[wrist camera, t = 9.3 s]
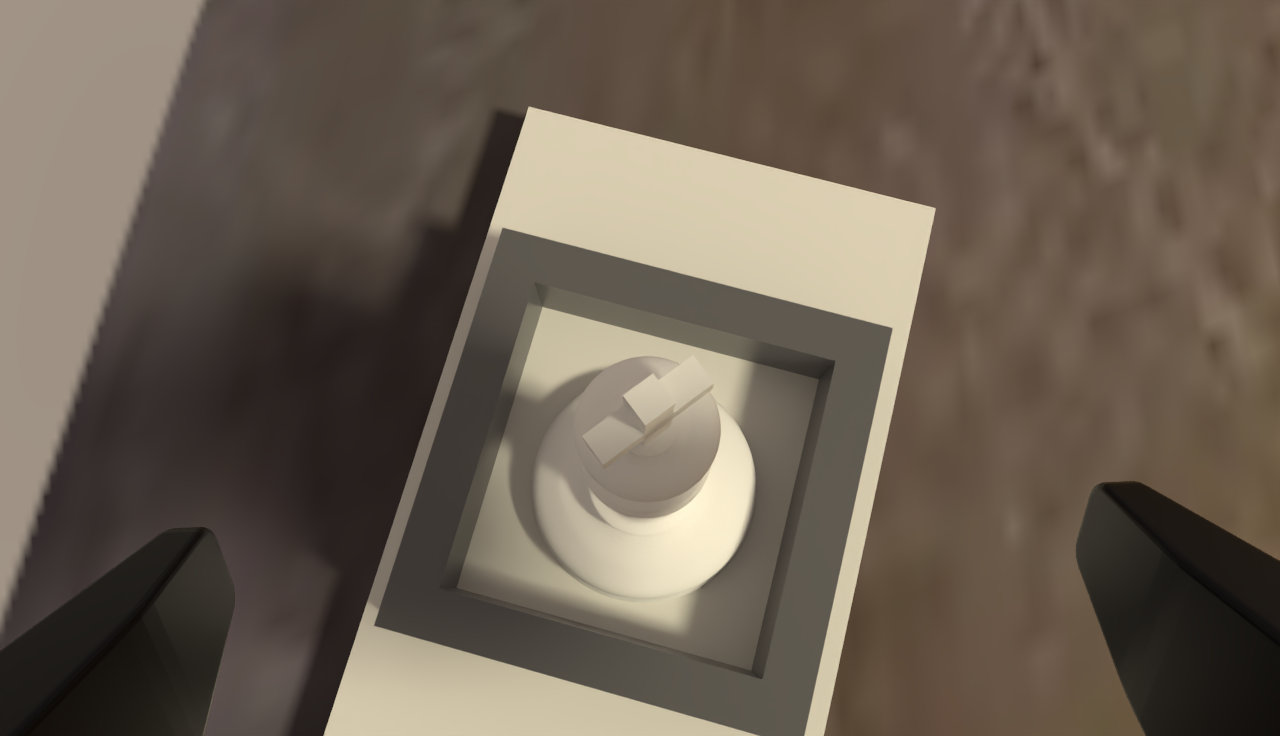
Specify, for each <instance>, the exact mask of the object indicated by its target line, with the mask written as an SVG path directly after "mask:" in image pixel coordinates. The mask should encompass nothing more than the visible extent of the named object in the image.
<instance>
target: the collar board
mask: <svg viewBox="0 0 1280 736" xmlns="http://www.w3.org/2000/svg"><path fill="white" fill-rule="evenodd" d="M935 209H936V208H932V207H928V206H924V205H920V204H916V203H912V202H908V201H904V200H900V199H896V198H892V197H888V196H884V195H880V194H876V193H872V192H868V191H864V190H860V189H856V188H852V187H848V186H844V185H840V184H836V183H832V182H828V181H824V180H820V179H816V178H812V177H808V176H804V175H800V174H796V173H792V172H788V171H784V170H780V169H776V168H772V167H768V166H764V165H760V164H756V163H752V162H748V161H744V160H740V159H736V158H732V157H728V156H724V155H720V154H716V153H712V152H708V151H704V150H700V149H696V148H692V147H688V146H684V145H680V144H676V143H672V142H668V141H664V140H660V139H656V138H652V137H648V136H644V135H640V134H636V133H632V132H628V131H624V130H620V129H616V128H612V127H608V126H604V125H600V124H596V123H592V122H588V121H584V120H580V119H576V118H572V117H568V116H564V115H560V114H556V113H552V112H548V111H544V110H540V109H536V108H532V107H529V108H528V111H527V114H526V117H525V120H524V124H523V127H522V130H521V133H520V136H519V139H518V142H517V145H516V148H515V151H514V154H513V157H512V160H511V163H510V166H509V169H508V172H507V176H506V179H505V182H504V185H503V188H502V191H501V194H500V197H499V200H498V203H497V206H496V209H495V212H494V215H493V218H492V221H491V225H490V228H489V231H488V234H487V237H486V240H485V243H484V246H483V249H482V252H481V255H480V258H479V261H478V264H477V267H476V270H475V274H474V277H473V280H472V283H471V286H470V289H469V292H468V295H467V298H466V301H465V304H464V307H463V310H462V313H461V316H460V319H459V322H458V326H457V329H456V332H455V335H454V338H453V341H452V344H451V347H450V350H449V353H448V356H447V359H446V362H445V365H444V368H443V371H442V375H441V378H440V381H439V384H438V387H437V390H436V393H435V396H434V399H433V402H432V405H431V408H430V411H429V414H428V417H427V420H426V424H425V427H424V430H423V433H422V436H421V439H420V442H419V445H418V448H417V451H416V454H415V457H414V460H413V463H412V466H411V469H410V473H409V476H408V479H407V482H406V485H405V488H404V491H403V494H402V497H401V500H400V503H399V506H398V509H397V512H396V515H395V518H394V521H393V525H392V528H391V531H390V534H389V537H388V540H387V543H386V546H385V549H384V552H383V555H382V558H381V561H380V564H379V567H378V570H377V574H376V577H375V580H374V583H373V586H372V589H371V592H370V595H369V598H368V601H367V604H366V607H365V610H364V613H363V616H362V619H361V623H360V626H359V629H358V632H357V635H356V638H355V641H354V644H353V647H352V650H351V653H350V656H349V659H348V662H347V665H346V668H345V672H344V675H343V678H342V681H341V684H340V687H339V690H338V693H337V696H336V699H335V702H334V705H333V708H332V711H331V714H330V717H329V720H328V724H327V727H326V730H325V733H324V736H824V731H825V727H826V722H827V717H828V713H829V708H830V703H831V698H832V694H833V689H834V684H835V680H836V675H837V670H838V666H839V661H840V656H841V651H842V647H843V642H844V637H845V633H846V628H847V623H848V619H849V614H850V609H851V604H852V600H853V595H854V590H855V586H856V581H857V576H858V571H859V567H860V562H861V557H862V553H863V548H864V543H865V539H866V534H867V529H868V524H869V520H870V515H871V510H872V506H873V501H874V496H875V491H876V487H877V482H878V477H879V473H880V468H881V463H882V459H883V454H884V449H885V444H886V440H887V435H888V430H889V426H890V421H891V416H892V412H893V407H894V402H895V397H896V393H897V388H898V383H899V379H900V374H901V369H902V364H903V360H904V355H905V350H906V346H907V341H908V336H909V332H910V327H911V322H912V317H913V313H914V308H915V303H916V299H917V294H918V289H919V284H920V280H921V275H922V270H923V266H924V261H925V256H926V252H927V247H928V242H929V237H930V233H931V228H932V223H933V219H934V214H935ZM692 355H693V356H694V357H695V358H696V359H697V361H698V362H699V363H700V365H701V366H702V367H703V368H704V370H705V371H706V372H707V374H708V375H709V376H710V377H711V379H712V380H713V381H714V386H713V388H712V390H711V391H710V392H711V394H712V395H713V397H714V399H715V400H716V401H717V402H718V403H719V404H720V405H721V406H722V407H723V408H724V409H725V410H726V411H727V412H728V413H729V414H730V415H731V416H732V418H733V419H734V420H735V422H736V423H737V425H738V426H739V428H740V429H741V431H742V433H743V435H744V437H745V439H746V441H747V443H748V446H749V448H750V451H751V454H752V458H753V462H754V467H755V473H756V482H757V498H756V507H755V512H754V517H753V520H752V524H751V527H750V529H749V532H748V534H747V537H746V539H745V541H744V543H743V545H742V546H741V548H740V550H739V551H738V553H737V554H736V556H735V557H734V558H733V560H732V561H731V562H730V563H729V564H728V566H727V567H726V568H725V569H724V570H723V571H722V572H721V573H719V574H718V575H717V576H716V577H715V578H714V579H712V580H711V581H710V582H708V583H707V584H705V585H704V586H702V587H700V588H699V589H697V590H695V591H693V592H691V593H688V594H686V595H683V596H680V597H677V598H674V599H670V600H665V601H659V602H629V601H623V600H618V599H615V598H611V597H608V596H605V595H603V594H600V593H598V592H596V591H594V590H592V589H590V588H588V587H587V586H585V585H583V584H582V583H580V582H579V581H578V580H576V579H575V578H574V577H572V576H571V575H570V574H569V573H568V572H567V571H566V570H565V569H564V568H563V567H562V566H561V565H560V564H559V563H558V562H557V560H556V559H555V558H554V557H553V555H552V554H551V552H550V551H549V549H548V548H547V546H546V544H545V542H544V540H543V538H542V536H541V534H540V531H539V529H538V526H537V523H536V519H535V515H534V511H533V505H532V493H531V485H532V474H533V468H534V463H535V459H536V456H537V453H538V450H539V447H540V444H541V442H542V440H543V438H544V436H545V434H546V432H547V430H548V428H549V427H550V425H551V424H552V422H553V421H554V420H555V418H556V417H557V416H558V414H559V413H560V412H561V411H562V410H563V409H564V408H565V407H566V406H567V405H568V404H569V403H570V402H571V401H572V400H574V399H575V398H576V397H577V396H579V395H580V394H582V393H583V392H584V391H585V390H586V388H587V387H588V385H589V384H590V383H591V381H592V380H593V379H594V378H595V377H596V376H597V375H599V374H600V373H601V372H602V371H604V370H605V369H606V368H608V367H610V366H611V365H613V364H615V363H618V362H620V361H622V360H626V359H629V358H634V357H642V356H653V357H661V358H665V359H669V360H672V361H674V362H677V363H679V364H681V363H683V362H684V361H686V360H687V359H688V358H690V357H691V356H692Z"/></svg>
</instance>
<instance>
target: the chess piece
mask: <svg viewBox="0 0 1280 736" xmlns="http://www.w3.org/2000/svg"><path fill="white" fill-rule="evenodd" d="M713 386H714V381H713V380H712V379H711V377H710V376H709V375H708V374H707V372H706V371H705V370H704V368H703V367H702V366H701V365H700V363H699V362H698V361H697V359H696V358H695V357H694V356H693V355H692V356H691V357H690V358H688V359H687V360H686V361H684V362H683V363H681V364H679V363H677V362H674V361H672V360H669V359H665V358H661V357H653V356H642V357H634V358H629V359H626V360H622V361H620V362H618V363H615V364H613V365H611V366H610V367H608V368H606V369H605V370H604V371H602V372H601V373H600V374H599V375H597V376H596V377H595V378H594V379H593V380H592V381H591V383H590V384H589V385H588V387H587V388H586V390H585V391H584V392H583V393H582V394H580V395H579V396H577V397H576V398H575V399H574V400H572V401H571V402H570V403H569V404H568V405H567V406H566V407H565V408H564V409H563V410H562V411H561V412H560V413H559V414H558V416H557V417H556V418H555V420H554V421H553V422H552V424H551V425H550V427H549V428H548V430H547V432H546V434H545V436H544V438H543V440H542V442H541V444H540V447H539V450H538V453H537V456H536V459H535V463H534V468H533V474H532V485H531V493H532V505H533V511H534V515H535V519H536V523H537V526H538V529H539V531H540V534H541V536H542V538H543V540H544V542H545V544H546V546H547V548H548V549H549V551H550V552H551V554H552V555H553V557H554V558H555V559H556V560H557V562H558V563H559V564H560V565H561V566H562V567H563V568H564V569H565V570H566V571H567V572H568V573H569V574H570V575H571V576H572V577H574V578H575V579H576V580H578V581H579V582H580V583H582V584H583V585H585V586H587V587H588V588H590V589H592V590H594V591H596V592H598V593H600V594H603V595H605V596H608V597H611V598H615V599H618V600H623V601H629V602H659V601H665V600H670V599H674V598H677V597H680V596H683V595H686V594H688V593H691V592H693V591H695V590H697V589H699V588H700V587H702V586H704V585H705V584H707V583H708V582H710V581H711V580H712V579H714V578H715V577H716V576H717V575H718V574H719V573H721V572H722V571H723V570H724V569H725V568H726V567H727V566H728V564H729V563H730V562H731V561H732V560H733V558H734V557H735V556H736V554H737V553H738V551H739V550H740V548H741V546H742V545H743V543H744V541H745V539H746V537H747V534H748V532H749V529H750V527H751V524H752V520H753V517H754V512H755V507H756V498H757V482H756V473H755V467H754V462H753V458H752V454H751V451H750V448H749V446H748V443H747V441H746V439H745V437H744V435H743V433H742V431H741V429H740V428H739V426H738V425H737V423H736V422H735V420H734V419H733V418H732V416H731V415H730V414H729V413H728V412H727V411H726V410H725V409H724V408H723V407H722V406H721V405H720V404H719V403H718V402H717V401H716V400H715V399H714V397H713V395H712V394H711V392H710V391H711V390H712V388H713Z"/></svg>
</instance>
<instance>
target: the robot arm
mask: <svg viewBox="0 0 1280 736" xmlns="http://www.w3.org/2000/svg"><path fill="white" fill-rule="evenodd" d="M1076 558H1077V563H1078V566H1079V570H1080V572H1081V575H1082V578H1083V580H1084V583H1085V586H1086V589H1087V591H1088V594H1089V597H1090V599H1091V602H1092V605H1093V608H1094V610H1095V613H1096V616H1097V618H1098V621H1099V624H1100V627H1101V629H1102V632H1103V635H1104V637H1105V640H1106V643H1107V646H1108V648H1109V651H1110V654H1111V656H1112V659H1113V662H1114V665H1115V667H1116V670H1117V673H1118V676H1119V678H1120V681H1121V683H1122V686H1123V688H1124V690H1125V693H1126V695H1127V698H1128V700H1129V702H1130V704H1131V707H1132V709H1133V711H1134V713H1135V715H1136V717H1137V719H1138V721H1139V723H1140V725H1141V727H1142V729H1143V731H1144V733H1145V735H1146V736H1280V561H1279V560H1277V559H1275V558H1274V557H1272V556H1270V555H1268V554H1267V553H1265V552H1263V551H1261V550H1260V549H1258V548H1256V547H1254V546H1252V545H1251V544H1249V543H1247V542H1245V541H1244V540H1242V539H1240V538H1238V537H1237V536H1235V535H1233V534H1231V533H1229V532H1228V531H1226V530H1224V529H1222V528H1221V527H1219V526H1217V525H1215V524H1214V523H1212V522H1210V521H1208V520H1206V519H1205V518H1203V517H1201V516H1199V515H1198V514H1196V513H1194V512H1192V511H1191V510H1189V509H1187V508H1185V507H1183V506H1182V505H1180V504H1178V503H1176V502H1175V501H1173V500H1171V499H1169V498H1167V497H1166V496H1164V495H1162V494H1160V493H1159V492H1157V491H1155V490H1153V489H1152V488H1150V487H1148V486H1146V485H1144V484H1142V483H1140V482H1135V481H1125V482H1104V483H1101V484H1098V485H1096V486H1095V487H1094V489H1093V490H1092V492H1091V494H1090V497H1089V500H1088V504H1087V507H1086V511H1085V514H1084V517H1083V521H1082V524H1081V528H1080V531H1079V535H1078V538H1077V543H1076ZM234 603H235V592H234V586H233V582H232V579H231V577H230V574H229V571H228V569H227V566H226V563H225V560H224V558H223V555H222V552H221V549H220V547H219V544H218V541H217V539H216V537H215V535H214V533H213V532H212V531H211V530H210V529H208V528H205V527H193V528H174V529H169V530H166V531H164V532H162V533H161V534H159V535H158V536H156V537H155V538H154V539H152V540H151V541H150V542H148V543H147V544H146V545H144V546H143V547H141V548H140V549H139V550H137V551H136V552H135V553H133V554H132V555H130V556H129V557H128V558H126V559H125V560H124V561H122V562H121V563H120V564H118V565H117V566H115V567H114V568H113V569H111V570H110V571H109V572H107V573H106V574H105V575H103V576H102V577H100V578H99V579H98V580H96V581H95V582H94V583H92V584H91V585H89V586H88V587H87V588H85V589H84V590H83V591H81V592H80V593H79V594H77V595H76V596H74V597H73V598H72V599H70V600H69V601H68V602H66V603H65V604H64V605H62V606H61V607H59V608H58V609H57V610H55V611H54V612H53V613H51V614H50V615H48V616H47V617H46V618H44V619H43V620H42V621H40V622H39V623H38V624H36V625H35V626H33V627H32V628H31V629H29V630H28V631H27V632H25V633H24V634H23V635H21V636H20V637H18V638H17V639H16V640H14V641H13V642H12V643H10V644H9V645H7V646H6V647H5V648H3V649H2V650H1V651H0V736H203V735H204V731H205V728H206V724H207V720H208V715H209V711H210V707H211V703H212V699H213V694H214V690H215V686H216V682H217V678H218V673H219V669H220V665H221V661H222V657H223V652H224V648H225V644H226V640H227V636H228V631H229V627H230V623H231V619H232V615H233V610H234Z"/></svg>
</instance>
